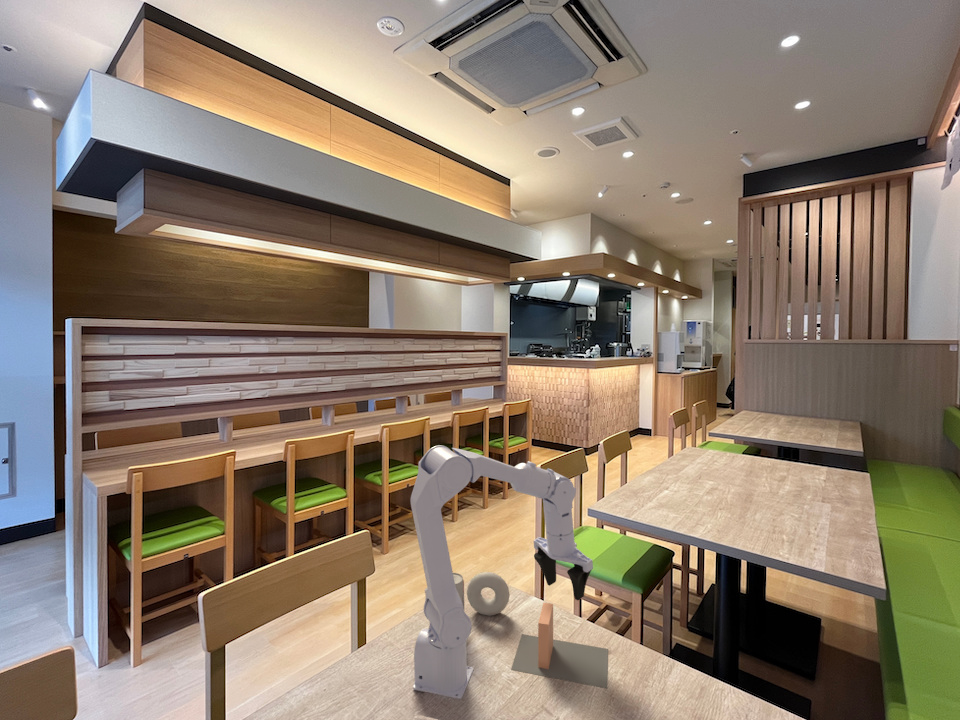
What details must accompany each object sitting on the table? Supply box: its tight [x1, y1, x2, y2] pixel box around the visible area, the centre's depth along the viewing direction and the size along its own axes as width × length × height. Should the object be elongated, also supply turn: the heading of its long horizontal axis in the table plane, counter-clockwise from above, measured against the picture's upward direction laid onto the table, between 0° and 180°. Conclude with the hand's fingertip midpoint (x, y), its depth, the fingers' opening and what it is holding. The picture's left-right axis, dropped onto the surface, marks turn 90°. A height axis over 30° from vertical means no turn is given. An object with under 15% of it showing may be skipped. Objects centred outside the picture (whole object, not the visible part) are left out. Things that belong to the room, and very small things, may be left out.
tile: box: [537, 602, 554, 669], centre depth 94 cm, size 2×7×9 cm, turn 164°
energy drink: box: [453, 572, 465, 609], centre depth 103 cm, size 5×5×12 cm
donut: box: [466, 571, 510, 617], centre depth 109 cm, size 10×4×10 cm, turn 82°
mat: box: [510, 633, 609, 689], centre depth 94 cm, size 18×11×1 cm, turn 74°
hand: (565, 590), depth 100 cm, fingers open, 7 cm apart
